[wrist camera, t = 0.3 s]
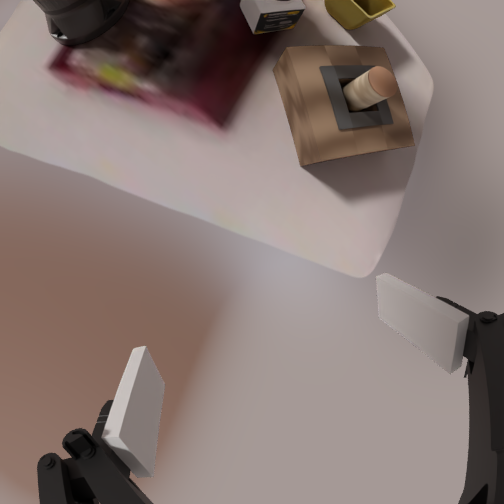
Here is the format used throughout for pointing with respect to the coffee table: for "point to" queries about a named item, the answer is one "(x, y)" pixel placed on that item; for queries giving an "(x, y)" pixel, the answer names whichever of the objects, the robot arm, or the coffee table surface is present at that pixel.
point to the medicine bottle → (271, 14)
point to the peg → (369, 89)
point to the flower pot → (357, 11)
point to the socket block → (337, 103)
